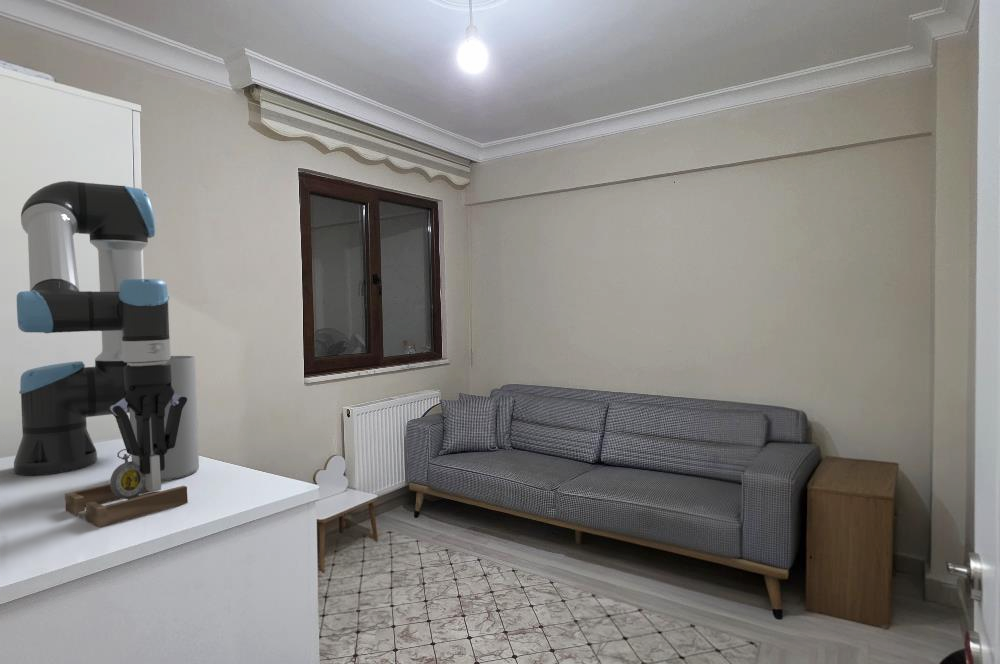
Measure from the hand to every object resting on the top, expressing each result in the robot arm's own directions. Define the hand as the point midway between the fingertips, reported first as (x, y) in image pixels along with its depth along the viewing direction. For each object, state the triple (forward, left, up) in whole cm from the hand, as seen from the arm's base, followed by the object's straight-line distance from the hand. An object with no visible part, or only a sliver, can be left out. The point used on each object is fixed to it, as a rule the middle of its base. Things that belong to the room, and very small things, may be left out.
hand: (153, 489), depth 109 cm
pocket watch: (+1, -2, -2) cm, 3 cm away
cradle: (0, -4, -2) cm, 5 cm away
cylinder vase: (-16, +10, -2) cm, 19 cm away
